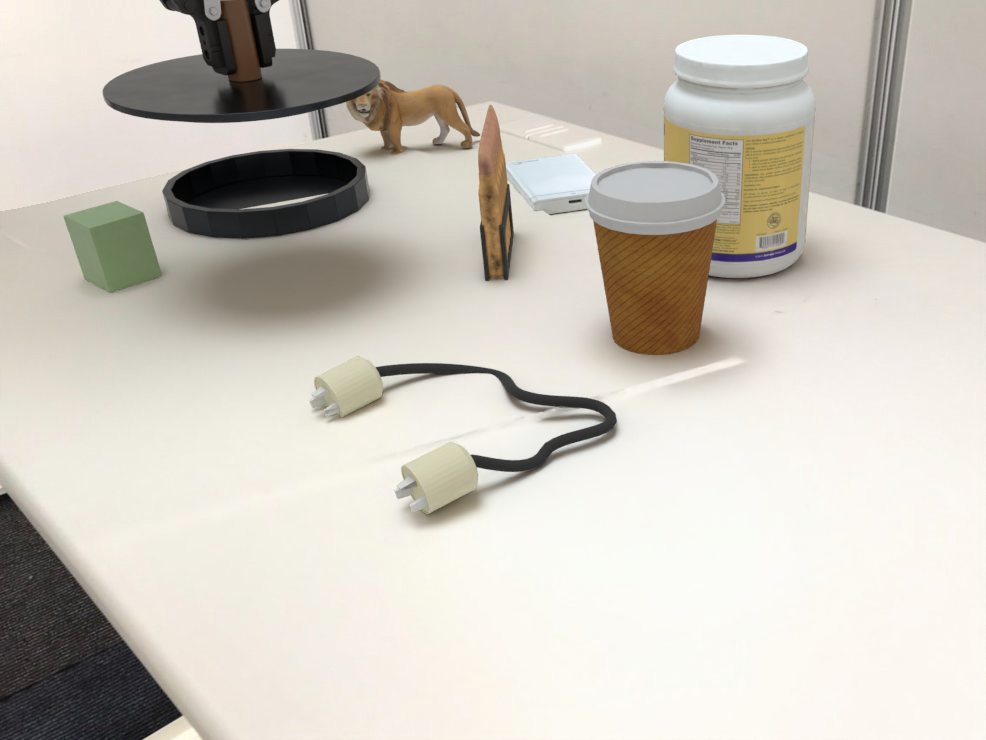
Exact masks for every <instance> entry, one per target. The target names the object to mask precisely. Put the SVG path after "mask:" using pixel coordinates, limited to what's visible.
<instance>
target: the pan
mask: <svg viewBox="0 0 986 740" xmlns="http://www.w3.org/2000/svg"><path fill="white" fill-rule="evenodd" d="M368 179H369V178H368V173H367V166H366V165H365V164H364V163H363V162H362V161H361V160H359V158H357V157H354V156H351V155H348V154H346V153H342V152H340V151H333V150H332V151H331V150H330V151H329V150H325V149H316V148H281V149H267V150H257V151H250V152H243V153H239V154H232V155H227V156H224V157H220V158H216V159H213V160H208V161H205V162H202V163H199V164H197V165H195V166H192V167H189V168H187V169H184V170H181V171H180V172H179V173H177V174H175V175H174V176H173V177H171V178H170V179H168V180H167V181H166V183H165V184H164V187H163V188H162V189H161V193H162V196H163V200H164V203H165V207H166V210H167V214H168V217H169V219H170V222H172V225H173V226H174V227H176V228H178V229H180V230H182V231H184V232H186V233H188V234H192V235H198V236H202V237H208V238H215V239H238V240H239V239H241V240H246V239H247V240H249V239H257V238H270V237H281V236H286V235H291V234H297V233H301V232H306V231H312V230H315V229H318V228H322V227H325V226H328V225H330V224H334V223H337V222H340V221H342V220H344V219H345V218H348V217H350V216H351V215H353V214H356V213H357V212H359V211H360V210H361V209H362V208H363V207H364V206H365V205H366V204H367V203H368V202H369V200H370V185H369V180H368ZM311 197H313V198H311ZM306 198H310V199H306ZM300 199H306V200H303V201H297V202H293V203H287V204H281V205H276V206H267V205H271V204H272V205H273V204H276V203H277V204H278V203H283V202H290V201H295V200H300ZM260 206H267V207H260Z"/></svg>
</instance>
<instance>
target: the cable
mask: <svg viewBox="0 0 986 740" xmlns="http://www.w3.org/2000/svg"><path fill="white" fill-rule="evenodd" d="M417 374H418V375H423V374H425V375H426V374H430V375H432V374H433V375H436V374H437V375H461V374H462V375H464V374H467V375H468V374H485V375H487V374H488V375H493V376H494V377H495V378H497V380H499V382H500V383H501V384H502V385H503V387H504V389H505V391H506V392H507V393H508V394H509V395H510V396H511V397H512V398H514V399H515V400H518V401H520V402H524V403H527V404H532V405H537V406H542V407H555V408H556V407H557V408H571V409H583V410H590V411H594V412H596V413H598V414H600V415H601V416H602V417H603V418H604V419H605V420H603V421H602V422H600V423H597V424H594V425H591V426H588V427H584V428H581V429H580V428H579V429H576V430H572V431H569V432H566V433H563V434H560V435H557V436H555V437H552V438H551V439H549V440H548V441H546V442H544V444H542V446H541V447H540V448H539V450H538V451H537V453H536V454H534V455H533V456H530V457H528V458H524V459H504V458H496V457H491V456H485V455H479V454H473V453H472V454H471V453H470V452H469V451H468V450H467V448H465V446H462V445H461V444H459V443H457V442H455V441H448V442H447V443H445V444H442V445H440V446H439V447H437V448H434V449H433V450H430V451H429V452H426V453H424V454H423V455H421V456H418V457H417V458H415V459H412V460H410V461H409V462H407V463H405V464H403V465H401V468H400V471H401V475H402V479H403V480H402V481H401V482H399V483H398V484H397V485H396V488H395V489H394V490H393V491H394V494H395V496H396V499H397V500H401V499H403V498H407V497H410V496H411V498H412V500H413V502H411V503H410V504H409V507H410V511H411V513H415V512H417V511H421V512H423V513H424V514H426V515H430V514H431V513H433V512H435V511H437V510H438V509H441V508H442V507H444V506H446V505H449V504H450V503H452V502H453V501H456V500H457V499H460V498H461V497H463V496H465V495H468V494H469V493H472V492H473V491H475V490H476V489H477V487H478V481H479V470H478V469H483V470H488V471H494V472H504V473H522V472H528V471H531V470H534V469H537V468H539V467H540V466H542V465H544V464H545V463H546V462H547V460H548V459H549V457H551V456H552V454H553V453H554V452H555V451H557V450H559V449H561V448H563V447H565V446H569V445H572V444H575V443H579V442H583V441H587V440H591V439H594V438H597V437H599V436H604V435H605V434H607V433H609V432H610V431H612V430H613V429H614V428H615V427H616V425H617V423H618V419H617V414H616V412H615V411H614V410H613V409H612V408H611V406H609V405H608V404H607V403H605V402H604V401H601V400H598V399H595V398H590V397H583V396H571V395H555V394H554V395H553V394H543V393H538V392H537V393H536V392H532V391H528V390H525V389H523V388H520V387H519V386H518V385H517V384H516V383H515V381H514V380H513V378H512V377H511V376H509V375H508V373H506V372H504V371H501V370H498V369H494V368H489V367H484V366H476V365H468V364H457V363H441V362H415V363H396V364H388V365H379V366H375V365H374V364H373V363H372V362H371V361H370V360H369V359H366V358H365V357H362V356H359V355H356V356H354V357H353V358H350V359H349V360H347V361H344V362H342V363H341V364H339V365H337V366H334V367H332V368H331V369H329V370H327V371H325V372H323V373H321V374H319V375H316V376H315V377H314V379H313V384H314V388H315V391H313V392H312V393H311V394H310V395H311V397H312V398H310V399H309V400H308V401H309V404H310V406H311V408H312V409H316V408H319V407H322V406H324V407H326V408H324V409H323V412H324V415H325V417H326V418H327V417H330V416H332V415H333V416H334V415H335V414H337V415H339V416H340V418H344V417H346V416H348V415H350V414H352V413H353V412H356V411H358V410H359V409H361V408H363V407H366V406H367V405H369V404H372V403H373V402H374V401H376V400H379V399H380V398H381V397H382V395H383V389H384V388H383V387H384V384H383V383H384V382H383V379H382V378H383V377H384V378H385V377H393V376H404V375H417Z"/></svg>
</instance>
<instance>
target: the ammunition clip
mask: <svg viewBox="0 0 986 740" xmlns="http://www.w3.org/2000/svg"><path fill="white" fill-rule="evenodd" d="M485 115H486V116H485V120H484V124H483V127H482V131H481V134H480V139H479V143H478V151H477V164H478V165H477V167H478V192H477V193H478V202H479V213H480V223H479V233H480V243H481V252H482V262H483V263H482V264H483V272H484V281H485V282H489V281H502V280H504V281H509V275H510V268H511V267H510V266H511V258H512V253H513V244H514V235H515V231H514V230H515V229H514V220H513V210H512V209H513V208H512V199H511V197H512V196H511V188H510V184H509V183H508V179H507V173H506V163H507V161H506V156H505V152H504V149H503V142H502V141H503V140H502V137H501V128H500V124H499V118H498V116H497V113H496V109H495V108H494V106H493V105H492V104H489V105H488V107H487V110H486V114H485Z"/></svg>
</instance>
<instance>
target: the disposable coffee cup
mask: <svg viewBox="0 0 986 740" xmlns="http://www.w3.org/2000/svg"><path fill="white" fill-rule="evenodd" d="M724 204H725V197H724V194H723V193H722V192H721V191H720V185H719V181H718V179H717V176H716V175H715V174H714V173H712V172H711V171H709V170H708V169H705V168H702V167H700V166H696V165H692V164H687V163H679V162H672V161H664V160H644V161H633V162H628V163H623V164H617V165H614V166H610V167H607V168H604V169H603V170H601V171H599V172H597V174H596V175H595V176H594V177H593V179H592V180H591V186H590V191H589V193H588V194H587V196H586V198H585V207H586V208H587V209H586V210H587V211H588V214H589V217H590V218H591V219H592V222H593V228H594V234H595V240H596V241H595V242H596V246H597V253H598V259H599V265H600V269H601V276H602V282H603V287H604V288H603V289H604V294H605V299H606V300H605V301H606V304H607V310H608V318H609V323H610V330H611V335H612V339H613V341H614V343H615V344H616V345H617V346H618V347H619V348H622V349H623V350H625V351H628V352H631V353H635V354H638V355H639V354H640V355H645V356H646V355H648V356H650V355H651V356H660V355H661V356H665V355H671V354H672V355H673V354H675V353H680V352H683V351H686V350H688V349H689V348H692V347H694V345H695V344H696V343H697V342H698V341H699V339H700V333H701V328H702V327H701V326H702V320H703V314H704V308H705V303H706V302H705V301H706V297H707V296H706V295H707V288H708V282H709V277H710V276H709V270H710V263H711V256H712V250H713V244H714V237H715V230H716V223H717V218H718V217H719V216H720V213H721V209H722V208H723V207H724Z"/></svg>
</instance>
